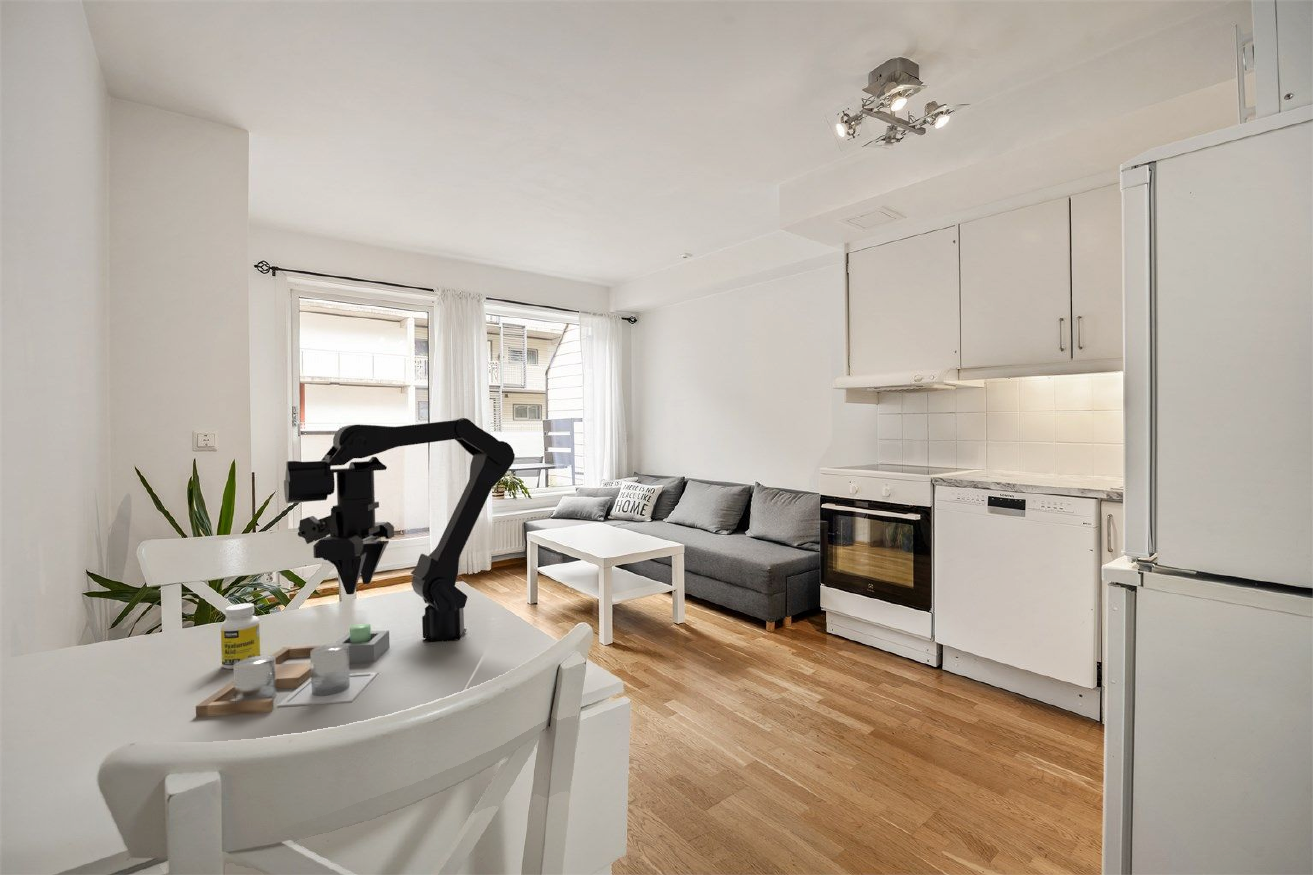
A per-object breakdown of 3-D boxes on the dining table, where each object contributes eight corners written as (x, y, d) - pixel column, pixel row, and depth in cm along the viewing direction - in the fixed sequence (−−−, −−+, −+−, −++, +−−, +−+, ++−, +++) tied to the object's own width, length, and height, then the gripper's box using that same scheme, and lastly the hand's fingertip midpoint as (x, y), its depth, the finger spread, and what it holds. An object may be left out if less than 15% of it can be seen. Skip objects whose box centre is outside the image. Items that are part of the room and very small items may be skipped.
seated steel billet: (283, 694, 88) (282, 654, 88) (264, 710, 83) (263, 667, 83) (248, 696, 88) (246, 656, 88) (226, 712, 83) (225, 669, 83)
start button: (373, 640, 104) (373, 623, 103) (366, 647, 100) (366, 629, 100) (354, 641, 103) (354, 624, 103) (346, 648, 100) (346, 630, 100)
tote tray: (378, 676, 94) (378, 671, 94) (351, 706, 84) (351, 700, 84) (312, 680, 93) (312, 675, 93) (277, 710, 83) (277, 705, 83)
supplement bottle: (219, 672, 97) (216, 613, 97) (225, 661, 102) (223, 604, 102) (258, 665, 100) (256, 607, 100) (262, 655, 105) (260, 600, 105)
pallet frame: (340, 655, 103) (340, 644, 103) (269, 716, 82) (269, 701, 82) (283, 658, 103) (282, 647, 103) (196, 720, 81) (195, 706, 81)
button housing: (389, 650, 106) (389, 630, 106) (374, 665, 99) (373, 644, 99) (348, 652, 105) (348, 632, 105) (330, 668, 98) (329, 646, 98)
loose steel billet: (355, 680, 91) (354, 641, 91) (341, 695, 86) (339, 654, 86) (321, 682, 91) (320, 643, 91) (305, 697, 86) (303, 656, 86)
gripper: (332, 493, 110) (334, 577, 110) (276, 506, 92) (279, 607, 92) (394, 491, 111) (396, 575, 111) (351, 503, 92) (354, 603, 93)
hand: (358, 588), depth 102 cm, fingers open, 6 cm apart
